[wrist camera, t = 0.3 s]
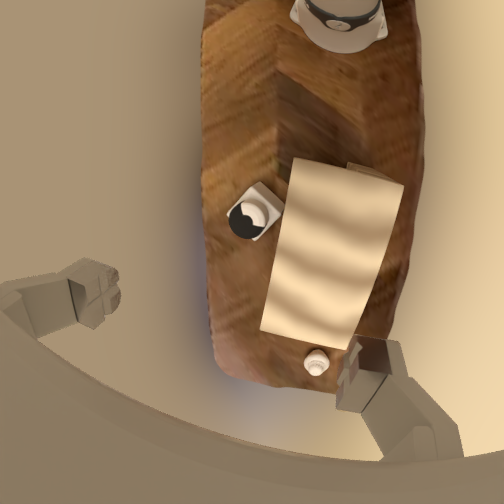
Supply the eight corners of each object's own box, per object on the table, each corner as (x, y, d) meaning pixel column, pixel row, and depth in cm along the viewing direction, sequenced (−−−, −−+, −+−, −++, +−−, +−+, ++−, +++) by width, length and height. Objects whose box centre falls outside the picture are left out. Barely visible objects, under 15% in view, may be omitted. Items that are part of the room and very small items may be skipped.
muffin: (326, 364, 66) (325, 383, 60) (303, 360, 67) (300, 380, 61) (332, 346, 64) (331, 366, 57) (308, 342, 65) (305, 362, 59)
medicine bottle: (263, 230, 57) (247, 252, 46) (237, 206, 56) (215, 222, 46) (287, 205, 54) (277, 222, 43) (260, 180, 53) (242, 190, 43)
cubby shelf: (305, 152, 49) (293, 158, 30) (373, 168, 47) (404, 186, 28) (282, 267, 59) (259, 329, 40) (342, 281, 57) (345, 350, 38)
